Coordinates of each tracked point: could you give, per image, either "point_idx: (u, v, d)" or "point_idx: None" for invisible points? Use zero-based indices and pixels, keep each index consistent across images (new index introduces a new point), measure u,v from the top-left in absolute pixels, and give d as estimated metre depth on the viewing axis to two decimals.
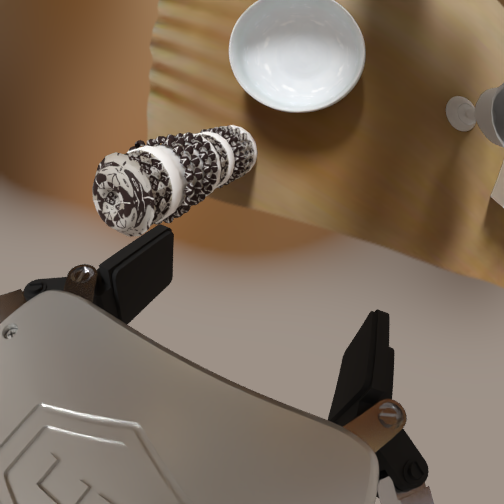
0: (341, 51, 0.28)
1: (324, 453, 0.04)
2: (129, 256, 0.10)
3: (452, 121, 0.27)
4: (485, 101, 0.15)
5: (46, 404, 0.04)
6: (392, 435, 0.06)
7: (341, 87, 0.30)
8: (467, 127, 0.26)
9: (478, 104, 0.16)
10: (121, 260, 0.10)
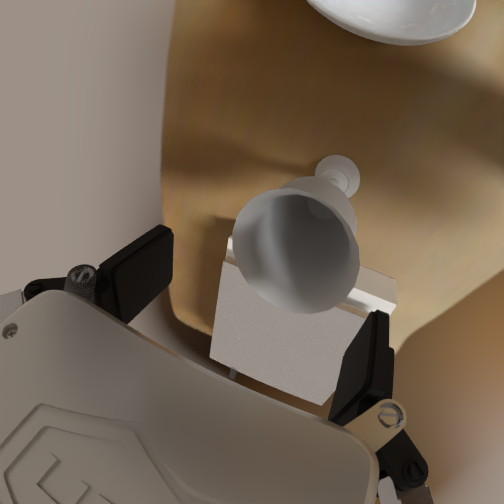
0: (394, 25, 0.17)
1: (324, 453, 0.04)
2: (129, 256, 0.10)
3: (323, 162, 0.28)
4: (321, 190, 0.15)
5: (46, 404, 0.04)
6: (392, 435, 0.06)
7: (339, 15, 0.18)
8: None
9: (321, 180, 0.16)
10: (121, 260, 0.10)
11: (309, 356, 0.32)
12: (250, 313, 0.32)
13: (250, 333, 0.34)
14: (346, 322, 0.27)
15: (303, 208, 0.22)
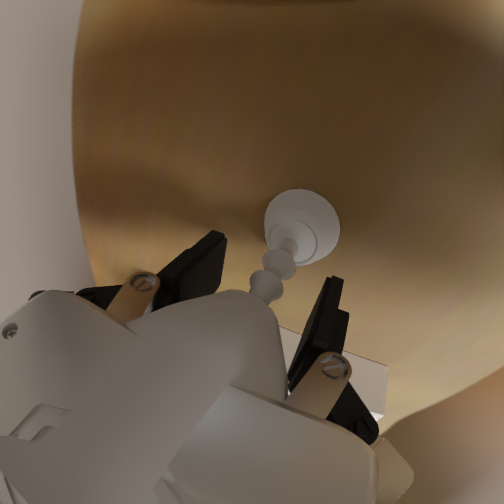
0: None
1: (324, 453, 0.04)
2: (191, 263, 0.10)
3: (276, 203, 0.17)
4: (147, 417, 0.04)
5: (46, 404, 0.04)
6: (343, 385, 0.07)
7: None
8: None
9: (172, 356, 0.05)
10: (185, 267, 0.10)
11: None
12: None
13: None
14: None
15: None
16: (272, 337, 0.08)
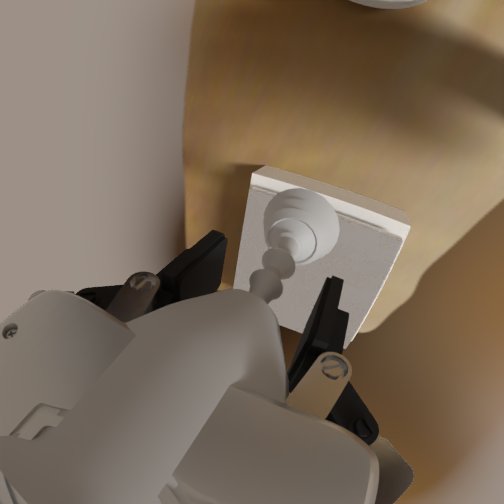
0: None
1: (324, 453, 0.04)
2: (191, 263, 0.10)
3: (275, 203, 0.17)
4: (148, 416, 0.04)
5: (46, 404, 0.04)
6: (343, 385, 0.07)
7: None
8: None
9: (173, 355, 0.05)
10: (185, 267, 0.10)
11: None
12: None
13: None
14: (367, 240, 0.29)
15: None
16: (272, 336, 0.08)
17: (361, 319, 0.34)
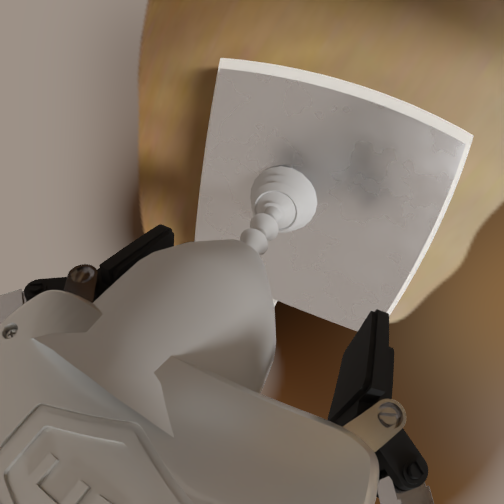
0: None
1: (324, 453, 0.04)
2: (129, 256, 0.10)
3: (260, 179, 0.20)
4: (170, 303, 0.07)
5: (46, 404, 0.04)
6: (392, 435, 0.06)
7: None
8: None
9: (187, 265, 0.08)
10: (121, 260, 0.10)
11: (356, 223, 0.19)
12: (259, 148, 0.20)
13: None
14: (412, 139, 0.15)
15: None
16: (259, 268, 0.11)
17: (400, 284, 0.20)
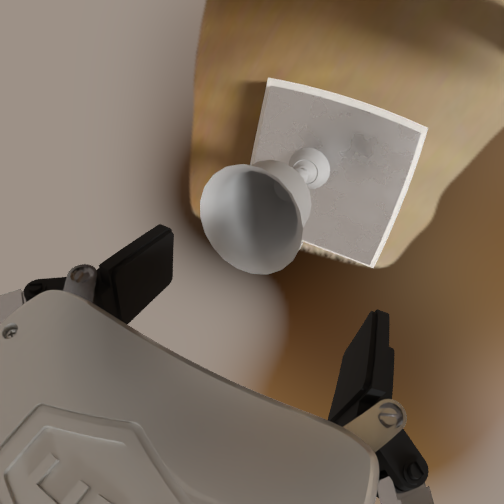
0: None
1: (324, 453, 0.04)
2: (129, 256, 0.10)
3: (295, 154, 0.31)
4: (275, 169, 0.18)
5: (46, 404, 0.04)
6: (392, 435, 0.06)
7: None
8: None
9: (277, 162, 0.19)
10: (121, 260, 0.10)
11: (355, 183, 0.31)
12: (295, 137, 0.31)
13: None
14: (387, 131, 0.27)
15: (270, 191, 0.25)
16: None
17: (386, 224, 0.31)
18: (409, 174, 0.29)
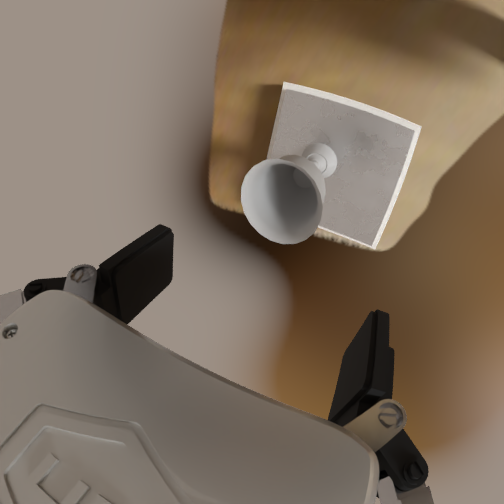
0: None
1: (324, 453, 0.04)
2: (129, 256, 0.10)
3: (307, 149, 0.36)
4: (299, 162, 0.23)
5: (46, 404, 0.04)
6: (392, 435, 0.06)
7: None
8: None
9: (299, 157, 0.24)
10: (121, 260, 0.10)
11: (359, 173, 0.35)
12: (307, 133, 0.35)
13: None
14: (386, 129, 0.31)
15: (290, 180, 0.30)
16: None
17: (385, 209, 0.36)
18: (405, 166, 0.34)
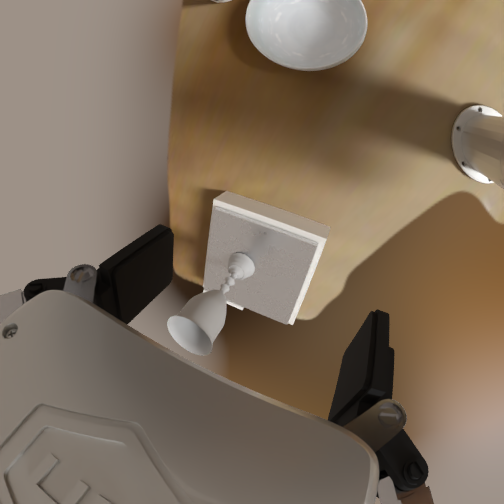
0: (316, 55, 0.34)
1: (324, 453, 0.04)
2: (129, 256, 0.10)
3: (231, 258, 0.49)
4: (201, 308, 0.36)
5: (46, 404, 0.04)
6: (392, 435, 0.06)
7: (279, 54, 0.34)
8: None
9: (204, 300, 0.38)
10: (121, 260, 0.10)
11: (271, 276, 0.49)
12: (231, 245, 0.49)
13: None
14: (292, 245, 0.45)
15: None
16: (222, 299, 0.40)
17: (294, 301, 0.50)
18: (312, 269, 0.47)
